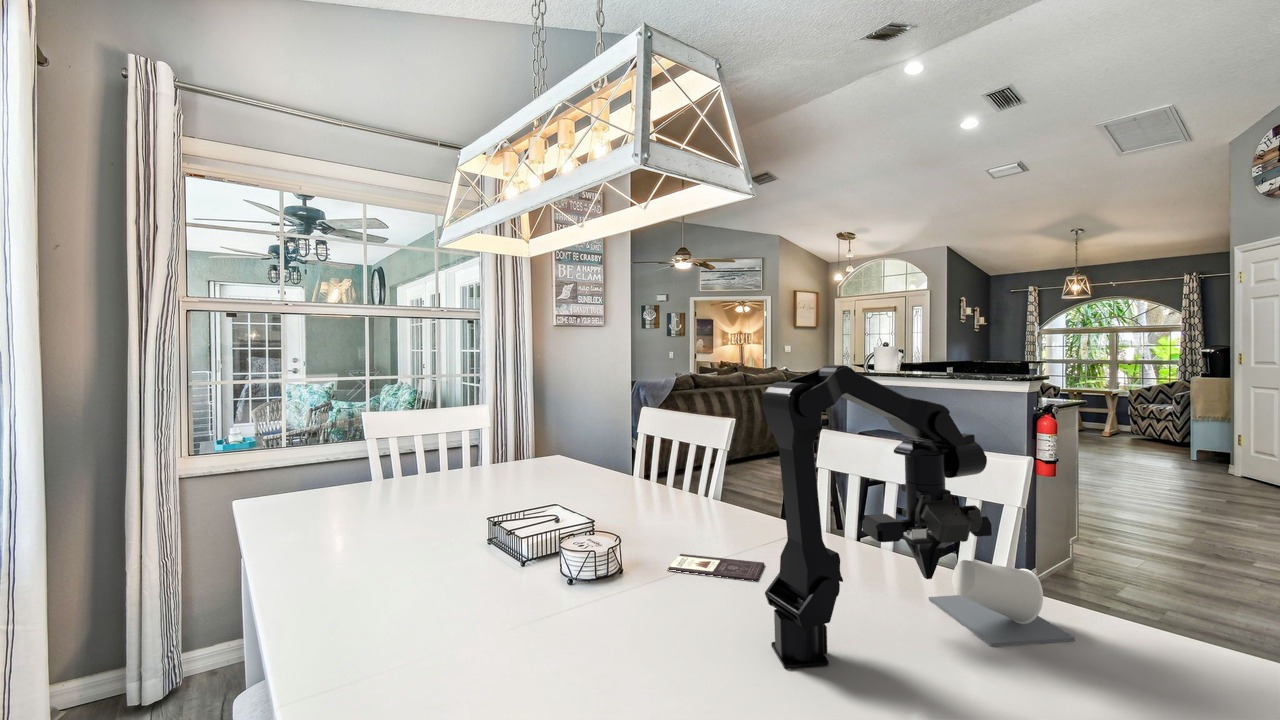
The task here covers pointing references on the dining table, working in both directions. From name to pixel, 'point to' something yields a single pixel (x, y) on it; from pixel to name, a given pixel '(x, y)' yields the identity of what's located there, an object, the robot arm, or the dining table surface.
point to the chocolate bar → (718, 567)
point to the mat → (998, 624)
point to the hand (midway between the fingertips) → (927, 578)
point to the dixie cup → (1000, 589)
